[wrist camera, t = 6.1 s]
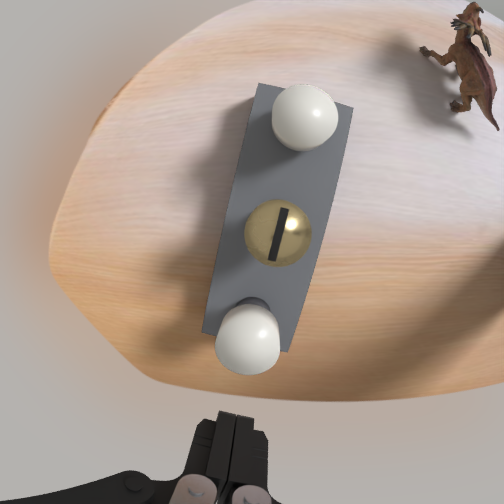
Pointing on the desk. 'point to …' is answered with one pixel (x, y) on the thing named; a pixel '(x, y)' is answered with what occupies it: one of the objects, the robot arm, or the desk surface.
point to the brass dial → (277, 233)
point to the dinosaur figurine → (470, 63)
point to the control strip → (266, 188)
